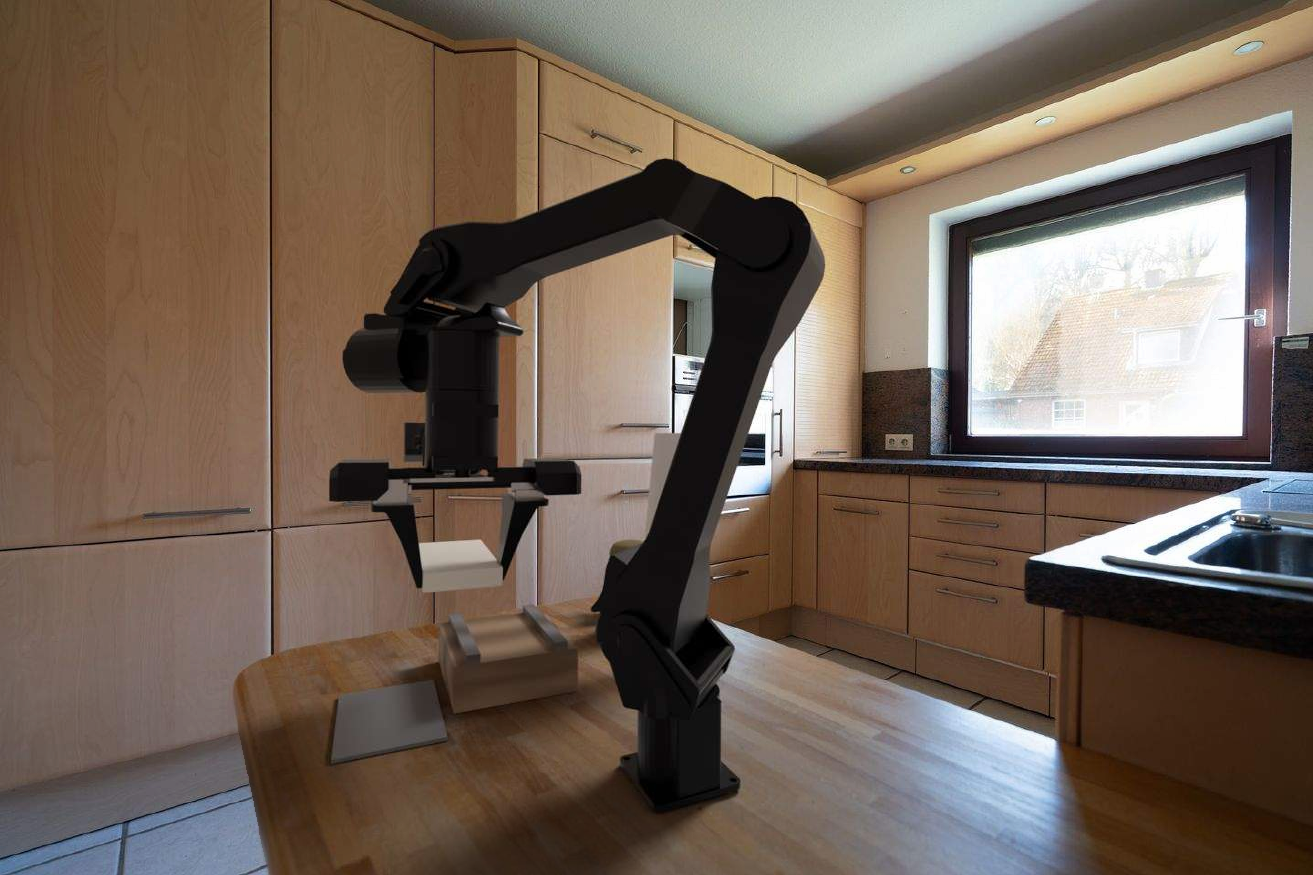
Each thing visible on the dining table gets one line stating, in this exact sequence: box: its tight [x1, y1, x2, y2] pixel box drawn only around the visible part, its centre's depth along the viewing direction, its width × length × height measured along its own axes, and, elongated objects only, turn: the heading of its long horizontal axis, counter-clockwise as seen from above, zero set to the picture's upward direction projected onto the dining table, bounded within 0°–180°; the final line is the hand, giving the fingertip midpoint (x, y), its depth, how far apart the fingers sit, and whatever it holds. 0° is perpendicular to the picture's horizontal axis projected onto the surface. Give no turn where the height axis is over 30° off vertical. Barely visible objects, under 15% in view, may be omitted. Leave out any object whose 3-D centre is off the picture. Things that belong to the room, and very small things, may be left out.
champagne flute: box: [644, 432, 681, 540], centre depth 65 cm, size 7×7×24 cm
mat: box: [330, 679, 449, 765], centre depth 51 cm, size 12×8×1 cm, turn 25°
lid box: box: [438, 603, 579, 714], centre depth 60 cm, size 13×11×5 cm
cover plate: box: [419, 539, 504, 594], centre depth 54 cm, size 13×6×2 cm, turn 24°
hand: (460, 583), depth 49 cm, fingers closed on cover plate, 6 cm apart
